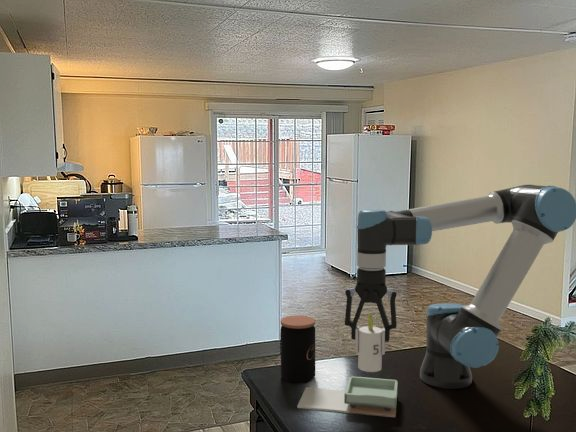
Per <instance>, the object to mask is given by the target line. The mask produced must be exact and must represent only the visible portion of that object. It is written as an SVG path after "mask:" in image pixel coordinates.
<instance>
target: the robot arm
mask: <svg viewBox="0 0 576 432" xmlns="http://www.w3.org/2000/svg"><path fill="white" fill-rule="evenodd" d="M357 215H358V216H357V224H356V225H357V226H356V229H357V233H356V234H357V235H356V236H357V251H356V265H357V270H356V285H355V287H352V288H351V287H347V288H345V296H346V305H345V315H344V325H345V326H346V327H347V326H348V327H349V328H351V329H350V330H351V334H350V335H351V340H354V341H355V343H354V344H355V347H354V349H355V350H354V352H355V353H356V354H358V349H359V328H360V326H359V325H358V322H359V319H360V316H361V314H362V311H363V307H364V305H365V303H366V304H367V303H372V304H376V307H377V309H378V312H379V316H380V318H381V322H382V324H383V327H381V329H382V356H384V355H385V353H386V343H389V342H390V331H391V330H393V329H396V328H397V324H398V323H397V311H396V310H397V309H396V308H397V307H396V297H397V294H398V293H397V292H398V291H397V290H396V289H393V290H392V289H388V287H387V285H386V279H387V277H386V275H387V272H386V271H387V270H386V269H385V267H386V265H387V262H386V261H387V246H415V245H416V246H420V245H426V244H429V243H430V242H431V240H432V237H433V236H432V235H433V232H436V231H437V232H439V231H442V230H449V229H455V228H460V227H465V226H472V225H477V224H482V223H484V224H485V223H489V222H493V223H494V224H497V225H498V224H505V223H511V225H512V228H513V229H512V232H511V233H510V235H509V237H508V238H507V240H506V242H505V244H504V245H503V247H502V249H501V250H500V252H499V254H498V256H497V257H496V259H495V260H494V263H493V264H492V266H491V267H490V269H489V271H488V273H487V274H486V276H485V278H484V280H483V282H482V283H481V285H480V286H479V288H478V290H477V292H476V294H475V296H474V297H473V298H472V300H471V302H470V303H469V304H466V305H464V304H460V303H450V302H449V303H447V302H446V303H445V302H441V303H432V304H430V305H428V307H427V311H426V343H425V344H426V350H425V351H426V352H425V356H424V358H423V361H422V362H421V363H422V364H421V366H420V370H419V378H420V380H421V381H422V382H423V383H425V384H427V385H429V386H432V387H435V388H440V389H449V390H456V389H463V388H468V387H469V386H471V385H472V383H473V381H472V380H473V375H472V374H473V373H472V371H471V368H473V369H474V368H475V369H477V368H481V367H484V366H487V365H489V364H490V363H492V361H494V360H495V358H496V357H497V355H498V353H499V348H500V345H499V339H498V337H499V335H500V333H501V330H502V326H501V323H500V321H501V319H502V317H503V315H504V314H505V311H506V310H507V309H508V307H509V305H510V303H511V302H512V300H513V298H514V296H515V294H516V293H517V292H518V289H519V288H520V286H521V284H522V283H523V281H524V280H525V278H526V276H527V275H528V273H529V271H530V270H531V267H532V266H533V264H534V262H535V261H536V259H537V257H538V255H539V253H540V252H541V250H542V249H543V247H544V246H545V245H546V244H550V243H553V242H554V240H555V238H556V236H557V235H558V233H560V232H564V231H566V230H568V229H570V228H571V227H572V226H573V225H574V224H575V221H576V199H575V198H574V195H573V194H572V193H571V192H570V191H569V190H566V189H565V188H562V187H557V186H554V185H547V186H546V185H538V184H522V185H518V186H513V187H508V188H504V189H501V190H496V191H490V192H489V193H488V194H487V195H485V196H479V197H474V198H467V199H462V200H456V201H451V202H444V203H439V204H433V205H427V206H426V205H425V206H421V207H416V208H415V207H414V208H409V209H404V210H403V209H402V210H397V211H394V210H387V211H386V210H385V209H380V208H379V209H378V208H377V209H371V208H370V209H362V210H360V211H359V212H358V214H357ZM355 293H356V294H357V296H358V297H359V298H360V301H359V304H358V306H357V309H356V311H355V314H354V318H353V320H351V317H352V316H351V315H352V306H353V305H352V303H353V297H354V296H355ZM386 294H387V297H388V299H389V302H390V303H389V306H390V320H391V322H390V321H389V318H388V316H387V312H386V310H385V307H384V303H383V300H382V299H383V298H384V297H385V295H386Z"/></svg>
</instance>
